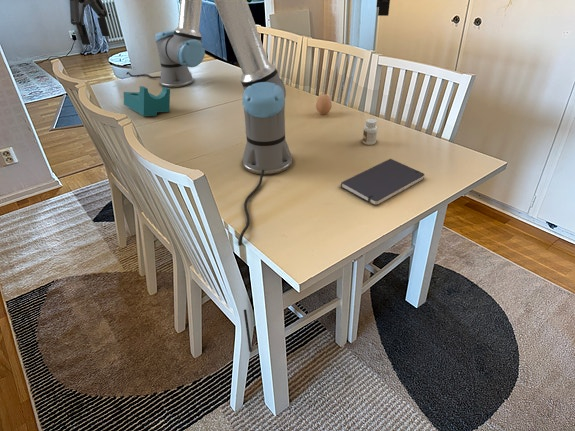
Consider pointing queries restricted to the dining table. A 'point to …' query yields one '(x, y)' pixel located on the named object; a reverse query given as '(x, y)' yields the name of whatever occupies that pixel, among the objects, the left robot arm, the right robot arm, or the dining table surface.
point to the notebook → (382, 181)
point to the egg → (323, 104)
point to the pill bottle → (370, 132)
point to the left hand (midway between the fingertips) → (96, 40)
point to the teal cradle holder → (148, 101)
